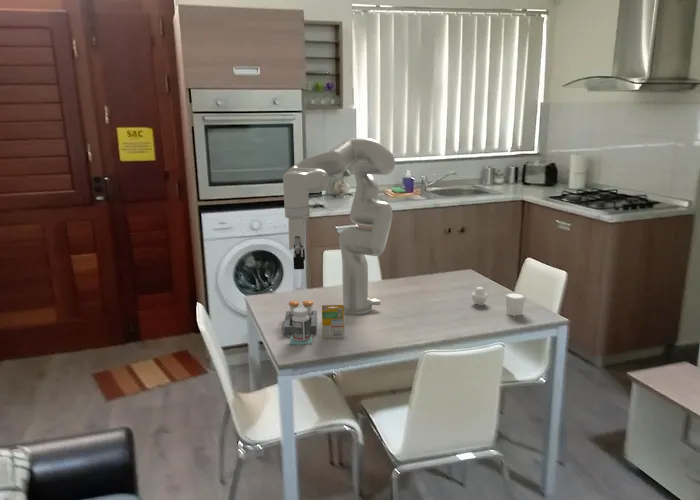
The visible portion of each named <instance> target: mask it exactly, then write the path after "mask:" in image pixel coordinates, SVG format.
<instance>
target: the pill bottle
mask: <svg viewBox="0 0 700 500" xmlns="http://www.w3.org/2000/svg"><path fill="white" fill-rule="evenodd" d="M307 313H308V310H307V308H304V306H302V307H301V306H300V307H299V306H298V308H295V309H293V314H294V316H293V317H292V327H293V339H294V340H297V341H305V340H308V339H309V338H310V318H309V316H308V315H307Z"/></svg>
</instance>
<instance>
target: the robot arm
mask: <svg viewBox="0 0 700 500" xmlns="http://www.w3.org/2000/svg"><path fill="white" fill-rule="evenodd" d="M395 166H396V161H395V157H394V154H393V153H392V152H391V151H390V150H389V149H387V147H385V146H384V145H383V144H382V143H381V142H379V141H377V140H375V139H373V138H366V137H365V138H361V137H359V138H358V137H353V138H352V137H351V138H347V139H345V140H343V141H342V142H340V143H339V144H337V145H336V146H334V147H333V148H331V149H330V150H328V151H327V152H323V153H319V154H317V155H314V156H311V157H308V158H305V159H302V160H301V161H299V162H297V163H295V164H294V165H292V166H291V167H290V168H289V169H288V170H287V171H286V172H285V173H284V174H283V176H282V184H283V203H284V217H285V218H286V219H288V248H289V249H288V250H290V251H292V249H293V258H292V259H293V269H294V270H295V271H297V270H304V269H305V260H306V251H305V248H306V239H307V219H306V218H309V217H310V206H309V205H310V200H309V199H310V198H309V194H316V193H317V194H318V193H322V192H323V191H326V189H327V188H328V186H329V184H330V177H335V176H338V175H341V174H343V173H344V172H346V171H347V170H348V169H349V168H351V170H352V172H353V175H354V179H355V183H356V186H355V191H354V196H353V200H352V204H351V207H350V208H351V209H350V212H349V219H350V221H351V223H353V224H355V225H360V226H367V227H372V228H365V227H357V226H348V227H345V228H344V229H342V230H341V232H340V233H339V237H338V243H339V249H340V255H341V266H342V268H341V269H342V278H341V279H342V303H340V304H339V305H344V315H349V316H355V315H356V316H357V315H359V316H360V315H366V314H368V313H371V312H372V310H373V306H381V300H380V299H377V298H370V297H369V265H368V261H367V258H366V256H370V257H378V256H381V255H382V254H383V253H384V251H385V249H386V246H387V242H388V239H389V238H388V237H389V234H390V231H391V230H390V229H391V226H392V221H393V208H392V206H391V204H390V203H388V202H387V201H383V200H378V196H379V191H380V188H379V184H378V182H377V180H376V178H375V176H374V175H379V176H387V175H389V174H391V173H392V172H394V169H395Z"/></svg>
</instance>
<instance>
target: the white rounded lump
mask: <svg viewBox="0 0 700 500" xmlns="http://www.w3.org/2000/svg"><path fill="white" fill-rule="evenodd" d="M471 298H472V300H473V303H474V304H475V305H476V304H479V305H478V306H483V305H482V304H485V303H486V301H487V300H488V298H489V295H488V293H487V292H486V290H485V288H484V287H482V286H477V287H475V289H474V290H473V292H472V293H471Z"/></svg>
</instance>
